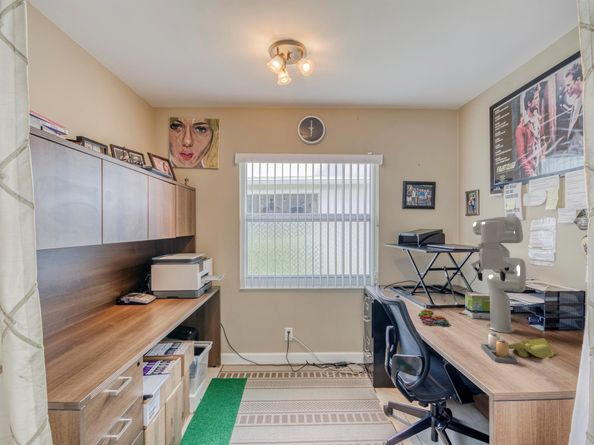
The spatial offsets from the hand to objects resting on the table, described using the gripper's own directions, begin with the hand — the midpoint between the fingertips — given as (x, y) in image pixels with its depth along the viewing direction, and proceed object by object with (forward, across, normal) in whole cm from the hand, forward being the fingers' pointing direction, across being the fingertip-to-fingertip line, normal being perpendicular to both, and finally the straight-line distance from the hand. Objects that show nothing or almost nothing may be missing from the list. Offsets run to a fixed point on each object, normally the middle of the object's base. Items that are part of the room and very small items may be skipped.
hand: (491, 280), depth 144 cm
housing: (+31, -4, -16) cm, 35 cm away
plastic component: (+32, +10, -10) cm, 35 cm away
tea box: (+33, +10, +47) cm, 59 cm away
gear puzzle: (+33, -21, +37) cm, 54 cm away
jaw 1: (+30, -4, -20) cm, 36 cm away
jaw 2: (+30, -4, -12) cm, 33 cm away
